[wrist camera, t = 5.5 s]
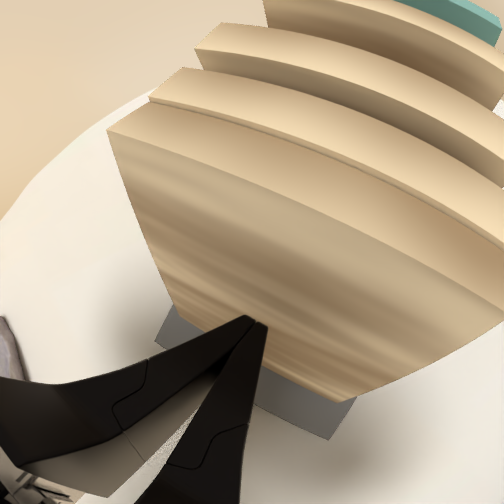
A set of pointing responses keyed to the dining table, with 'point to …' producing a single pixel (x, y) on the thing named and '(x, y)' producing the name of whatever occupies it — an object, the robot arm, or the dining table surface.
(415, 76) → the domino
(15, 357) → the stone block
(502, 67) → the domino
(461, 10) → the domino
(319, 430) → the mat
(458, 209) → the domino
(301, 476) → the dining table surface
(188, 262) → the domino
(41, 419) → the robot arm
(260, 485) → the dining table surface
